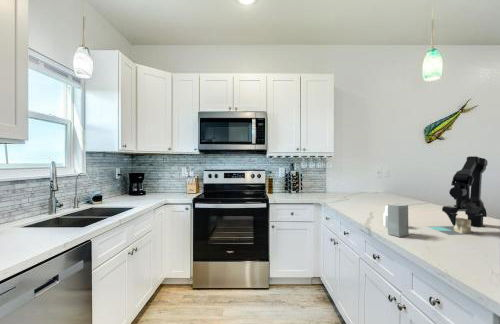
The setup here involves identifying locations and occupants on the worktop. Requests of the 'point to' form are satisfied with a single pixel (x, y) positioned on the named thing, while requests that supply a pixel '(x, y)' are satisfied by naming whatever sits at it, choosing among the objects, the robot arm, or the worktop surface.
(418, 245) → the worktop surface
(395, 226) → the skincare box
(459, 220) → the maple block
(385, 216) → the medicine bottle
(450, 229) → the mat
